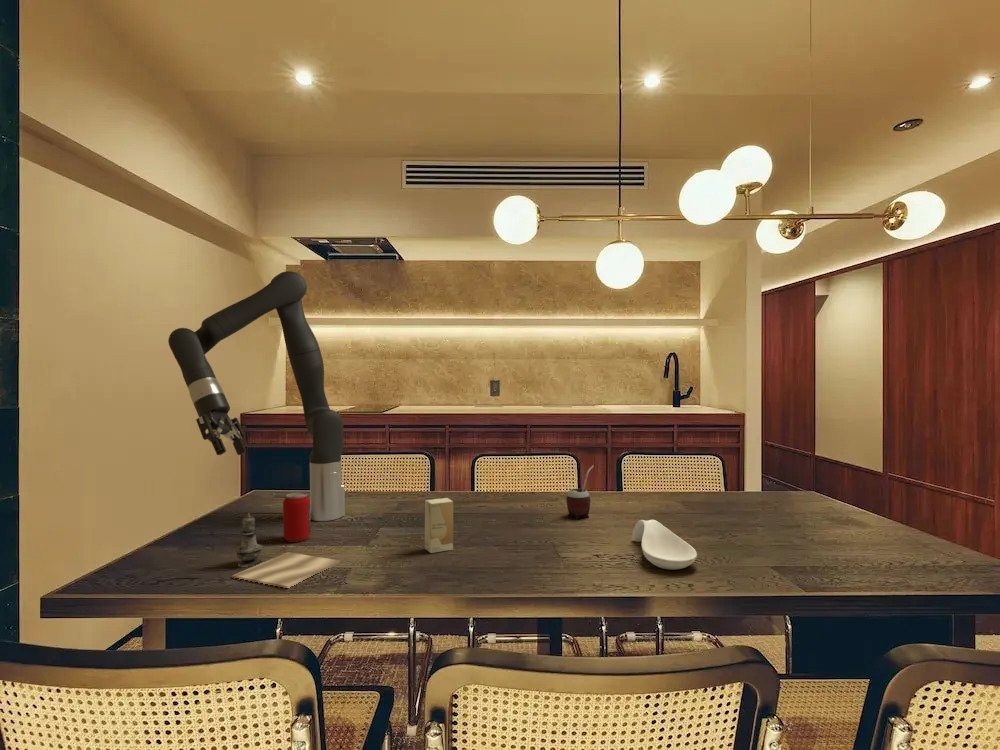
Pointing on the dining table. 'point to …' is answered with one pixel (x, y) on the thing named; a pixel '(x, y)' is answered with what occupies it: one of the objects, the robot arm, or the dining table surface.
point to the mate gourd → (579, 501)
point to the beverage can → (296, 517)
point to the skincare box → (438, 525)
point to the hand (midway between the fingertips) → (232, 453)
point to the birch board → (286, 569)
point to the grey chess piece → (248, 543)
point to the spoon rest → (663, 546)
